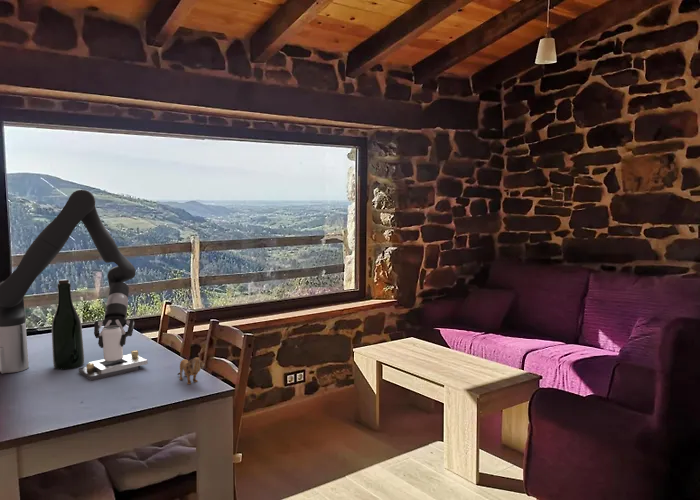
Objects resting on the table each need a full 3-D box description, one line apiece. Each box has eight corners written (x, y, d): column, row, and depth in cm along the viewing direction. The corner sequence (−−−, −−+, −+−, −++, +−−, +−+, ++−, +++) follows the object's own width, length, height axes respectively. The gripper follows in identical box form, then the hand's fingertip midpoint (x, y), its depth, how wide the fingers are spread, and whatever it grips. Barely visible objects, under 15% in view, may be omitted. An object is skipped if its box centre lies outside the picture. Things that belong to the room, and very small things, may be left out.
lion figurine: (207, 382, 185) (206, 357, 184) (193, 387, 181) (192, 360, 180) (184, 374, 194) (182, 349, 194) (170, 378, 190) (169, 352, 190)
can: (126, 356, 203) (124, 325, 202) (117, 361, 197) (115, 329, 195) (110, 356, 204) (107, 324, 202) (100, 361, 197) (98, 329, 196)
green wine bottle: (71, 370, 200) (66, 281, 197) (46, 369, 202) (41, 281, 200) (90, 362, 211) (85, 277, 208) (66, 361, 213) (61, 277, 210)
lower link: (91, 380, 189) (90, 369, 188) (79, 372, 198) (78, 361, 198) (138, 370, 200) (137, 359, 200) (124, 362, 209) (124, 352, 209)
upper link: (101, 374, 191) (100, 362, 191) (88, 366, 200) (88, 355, 200) (147, 363, 202) (147, 353, 202) (133, 357, 212) (133, 346, 211)
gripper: (94, 303, 204) (87, 342, 194) (135, 301, 207) (130, 339, 196) (98, 314, 210) (92, 352, 199) (138, 312, 213) (134, 349, 202)
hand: (111, 346), depth 198 cm, fingers closed on can, 6 cm apart
